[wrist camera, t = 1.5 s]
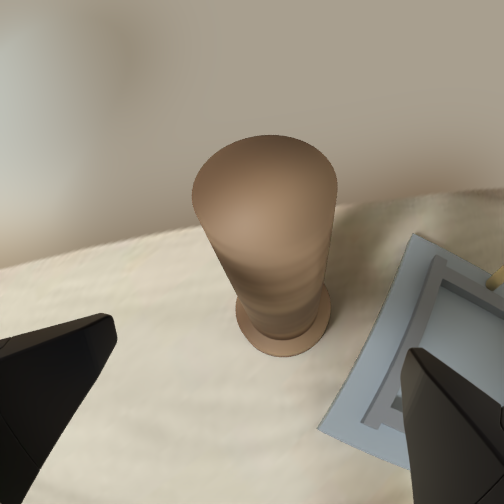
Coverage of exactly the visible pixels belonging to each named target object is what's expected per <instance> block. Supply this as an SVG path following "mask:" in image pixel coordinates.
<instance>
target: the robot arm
mask: <svg viewBox="0 0 504 504" xmlns="http://www.w3.org/2000/svg"><path fill="white" fill-rule="evenodd" d="M116 343H117V333H116V329H115V324H114V320H113V317H112V316H111V315H109V314H104V313H98V314H95V315H91V316H88V317H84V318H80V319H77V320H73V321H69V322H66V323H62V324H58V325H54V326H51V327H47V328H43V329H40V330H36V331H32V332H28V333H24V334H21V335H17V336H13V337H12V338H11V337H9V338H5V339H1V340H0V503H1V504H21V503H22V502H23V500H24V498H25V496H26V494H27V492H28V491H29V489H30V487H31V485H32V483H33V482H34V480H35V478H36V476H37V475H38V473H39V471H40V469H41V467H42V466H43V464H44V462H45V461H46V459H47V457H48V456H49V454H50V452H51V451H52V449H53V447H54V446H55V444H56V442H57V441H58V439H59V438H60V436H61V434H62V433H63V431H64V429H65V428H66V426H67V425H68V423H69V422H70V420H71V418H72V417H73V415H74V414H75V412H76V411H77V409H78V407H79V406H80V404H81V403H82V401H83V400H84V398H85V397H86V395H87V394H88V392H89V391H90V389H91V388H92V386H93V385H94V383H95V382H96V380H97V378H98V377H99V375H100V373H101V371H102V369H103V368H104V366H105V364H106V362H107V360H108V358H109V356H110V354H111V353H112V351H113V349H114V347H115V345H116ZM400 381H401V394H402V408H403V423H404V430H405V436H406V442H407V449H408V456H409V463H410V471H411V480H412V489H413V500H414V504H504V406H502V407H501V404H500V403H498V402H497V401H496V400H494V399H493V398H491V397H490V396H489V395H487V394H486V393H485V392H483V391H482V390H481V389H479V388H478V387H477V386H475V385H474V384H472V383H471V382H470V381H468V380H467V379H466V378H464V377H463V376H461V375H460V374H459V373H457V372H456V371H455V370H453V369H452V368H450V367H449V366H448V365H446V364H445V363H443V362H442V361H441V360H439V359H438V358H436V357H435V356H434V355H432V354H431V353H429V352H428V351H427V350H425V349H424V348H421V347H412V348H409V349H408V351H407V354H406V357H405V360H404V363H403V366H402V369H401V374H400Z"/></svg>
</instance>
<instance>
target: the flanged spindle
mask: <svg viewBox="0 0 504 504" xmlns="http://www.w3.org/2000/svg"><path fill="white" fill-rule="evenodd" d="M336 198H337V178H336V174H335V171H334V169H333V167H332V165H331V163H330V162H329V161H328V160H327V158H326V157H325V156H324V155H323V154H322V153H321V152H320V151H319V150H317V149H316V148H315V147H313V146H311V145H310V144H308V143H306V142H303V141H301V140H298V139H295V138H291V137H287V136H279V135H261V136H254V137H250V138H245V139H242V140H239V141H236V142H234V143H232V144H230V145H228V146H226V147H224V148H222V149H221V150H219V151H218V152H216V153H215V154H214V155H213V156H212V157H210V159H208V161H207V162H206V163H205V164H204V165H203V166H202V168H201V169H200V171H199V172H198V174H197V176H196V178H195V181H194V184H193V189H192V203H193V207H194V211H195V213H196V215H197V217H198V219H199V221H200V223H201V225H202V227H203V229H204V231H205V233H206V235H207V237H208V239H209V241H210V243H211V245H212V247H213V249H214V251H215V253H216V255H217V257H218V259H219V261H220V263H221V265H222V267H223V269H224V271H225V273H226V275H227V277H228V279H229V280H230V282H231V284H232V286H233V288H234V290H235V292H236V294H237V296H238V297H237V301H236V318H237V322H238V325H239V327H240V329H241V331H242V333H243V334H244V335H245V337H246V338H247V339H248V341H249V342H250V343H251V344H252V345H253V346H254V347H255V348H257V349H258V350H259V351H261V352H263V353H265V354H268V355H271V356H276V357H291V356H295V355H299V354H301V353H303V352H305V351H307V350H309V349H310V348H312V347H313V346H314V345H315V344H316V343H317V342H318V341H319V340H320V338H321V337H322V335H323V334H324V332H325V329H326V327H327V324H328V321H329V317H330V312H331V302H330V297H329V293H328V291H327V289H326V287H325V285H324V283H323V281H324V276H325V270H326V264H327V258H328V252H329V246H330V240H331V233H332V226H333V220H334V212H335V205H336Z"/></svg>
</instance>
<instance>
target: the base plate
mask: <svg viewBox="0 0 504 504" xmlns="http://www.w3.org/2000/svg"><path fill="white" fill-rule="evenodd" d="M412 347H421V348H424V349H425V350H427V351H428V352H429V353H431V354H432V355H434V356H435V357H436V358H438V359H439V360H441V361H442V362H443V363H445V364H446V365H448V366H449V367H450V368H452V369H453V370H455V371H456V372H457V373H459V374H460V375H461V376H463V377H464V378H466V379H467V380H468V381H470V382H471V383H472V384H474V385H475V386H477V387H478V388H479V389H481V390H482V391H483V392H485V393H486V394H487V395H489V396H490V397H491V398H493V399H494V400H496V401H497V402H498V403H500V404H501V407H502V406H504V265H503V266H502V267H501V268H500V269H499V270H498V271H497V272H495V273H494V274H493V275H491V274H489V273H487V272H486V271H484V270H482V269H480V268H479V267H477V266H475V265H473V264H471V263H470V262H468V261H466V260H464V259H462V258H460V257H459V256H457V255H455V254H453V253H451V252H449V251H447V250H445V249H443V248H441V247H440V246H438V245H436V244H434V243H432V242H430V241H428V240H426V239H424V238H422V237H420V236H418V235H416V234H414V233H413V234H412V236H411V238H410V240H409V242H408V244H407V247H406V250H405V252H404V255H403V258H402V260H401V263H400V266H399V268H398V271H397V273H396V276H395V278H394V280H393V283H392V285H391V288H390V290H389V292H388V295H387V297H386V299H385V302H384V304H383V306H382V308H381V311H380V313H379V315H378V317H377V319H376V322H375V324H374V326H373V328H372V330H371V332H370V334H369V336H368V338H367V340H366V342H365V344H364V346H363V348H362V350H361V352H360V354H359V356H358V358H357V360H356V362H355V364H354V366H353V367H352V369H351V371H350V373H349V375H348V377H347V378H346V380H345V382H344V384H343V386H342V387H341V389H340V391H339V393H338V394H337V396H336V398H335V399H334V401H333V403H332V404H331V406H330V408H329V409H328V411H327V413H326V414H325V416H324V418H323V419H322V421H321V422H320V424H319V425H318V427H317V429H318V430H319V431H321V432H323V433H325V434H327V435H329V436H331V437H333V438H336V439H338V440H340V441H342V442H344V443H346V444H348V445H350V446H352V447H355V448H357V449H359V450H361V451H364V452H366V453H368V454H370V455H373V456H375V457H377V458H380V459H382V460H385V461H387V462H390V463H392V464H395V465H397V466H400V467H402V468H405V469H407V470H410V463H409V456H408V449H407V442H406V436H405V430H404V423H403V408H402V394H401V381H400V374H401V369H402V366H403V363H404V360H405V357H406V354H407V351H408V349H409V348H412Z"/></svg>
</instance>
